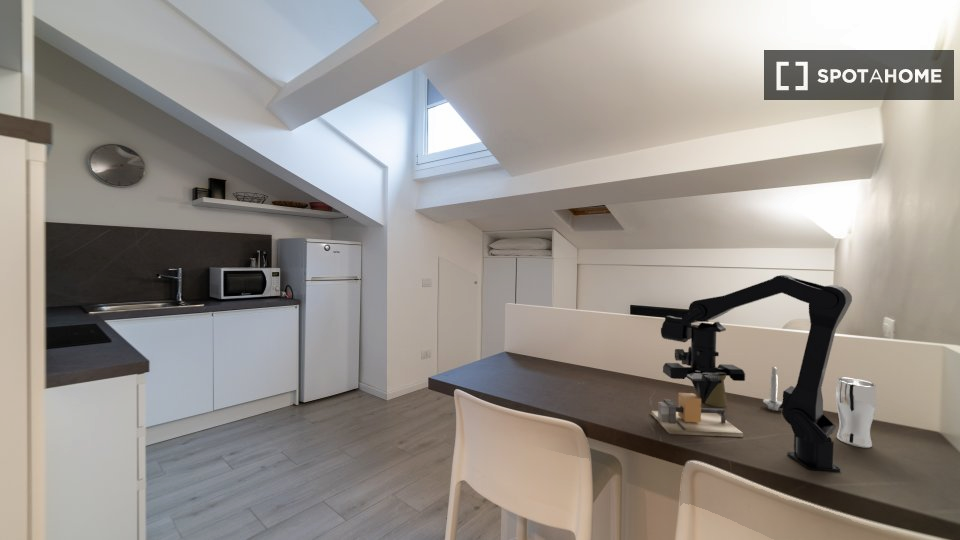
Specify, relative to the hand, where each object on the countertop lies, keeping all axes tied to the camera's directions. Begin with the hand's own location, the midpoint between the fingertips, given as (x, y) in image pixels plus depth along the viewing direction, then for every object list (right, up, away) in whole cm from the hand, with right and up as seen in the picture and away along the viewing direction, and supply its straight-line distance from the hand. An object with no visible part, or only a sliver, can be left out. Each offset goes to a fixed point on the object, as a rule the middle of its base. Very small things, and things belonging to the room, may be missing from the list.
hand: (702, 402), depth 99 cm
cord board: (-2, -6, 0) cm, 6 cm away
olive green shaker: (+13, -6, +15) cm, 21 cm away
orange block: (-3, -5, 0) cm, 6 cm away
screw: (+28, -6, +11) cm, 31 cm away
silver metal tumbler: (+32, -7, -9) cm, 34 cm away
